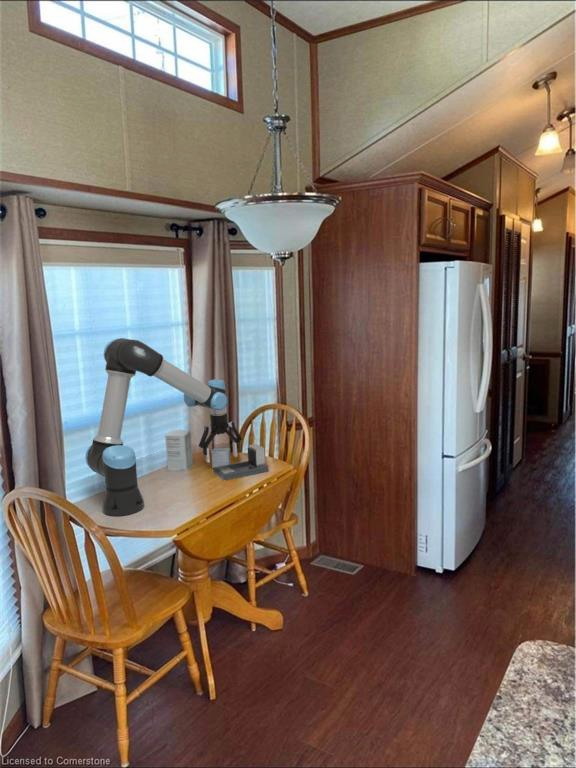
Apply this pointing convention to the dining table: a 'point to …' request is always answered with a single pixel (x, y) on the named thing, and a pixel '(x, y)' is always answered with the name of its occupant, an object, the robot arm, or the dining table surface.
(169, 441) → the supplement box
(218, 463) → the medicine box
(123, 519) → the dining table surface
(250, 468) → the grey tray stand
